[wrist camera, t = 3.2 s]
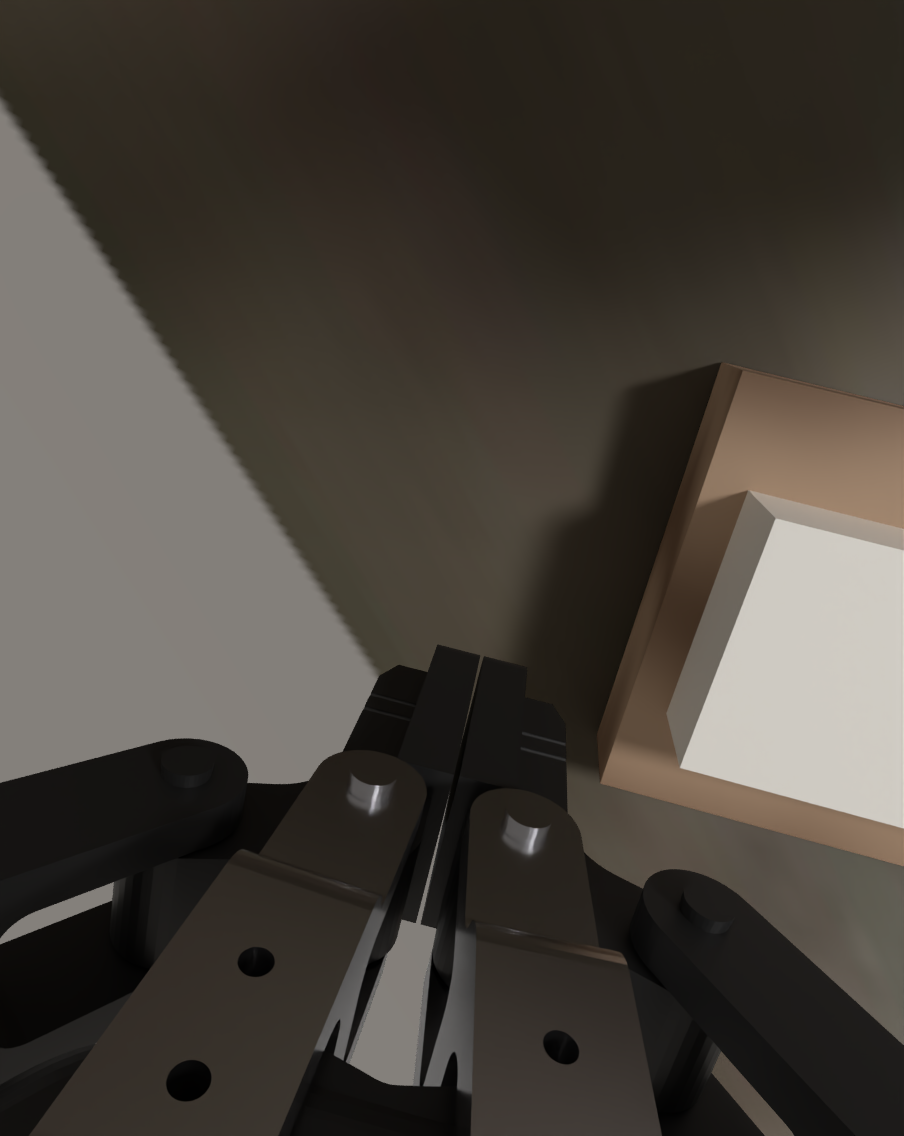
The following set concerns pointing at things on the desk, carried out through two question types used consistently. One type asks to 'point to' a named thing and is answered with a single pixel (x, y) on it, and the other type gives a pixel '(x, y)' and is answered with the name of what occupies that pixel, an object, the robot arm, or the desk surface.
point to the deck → (692, 560)
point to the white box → (801, 662)
